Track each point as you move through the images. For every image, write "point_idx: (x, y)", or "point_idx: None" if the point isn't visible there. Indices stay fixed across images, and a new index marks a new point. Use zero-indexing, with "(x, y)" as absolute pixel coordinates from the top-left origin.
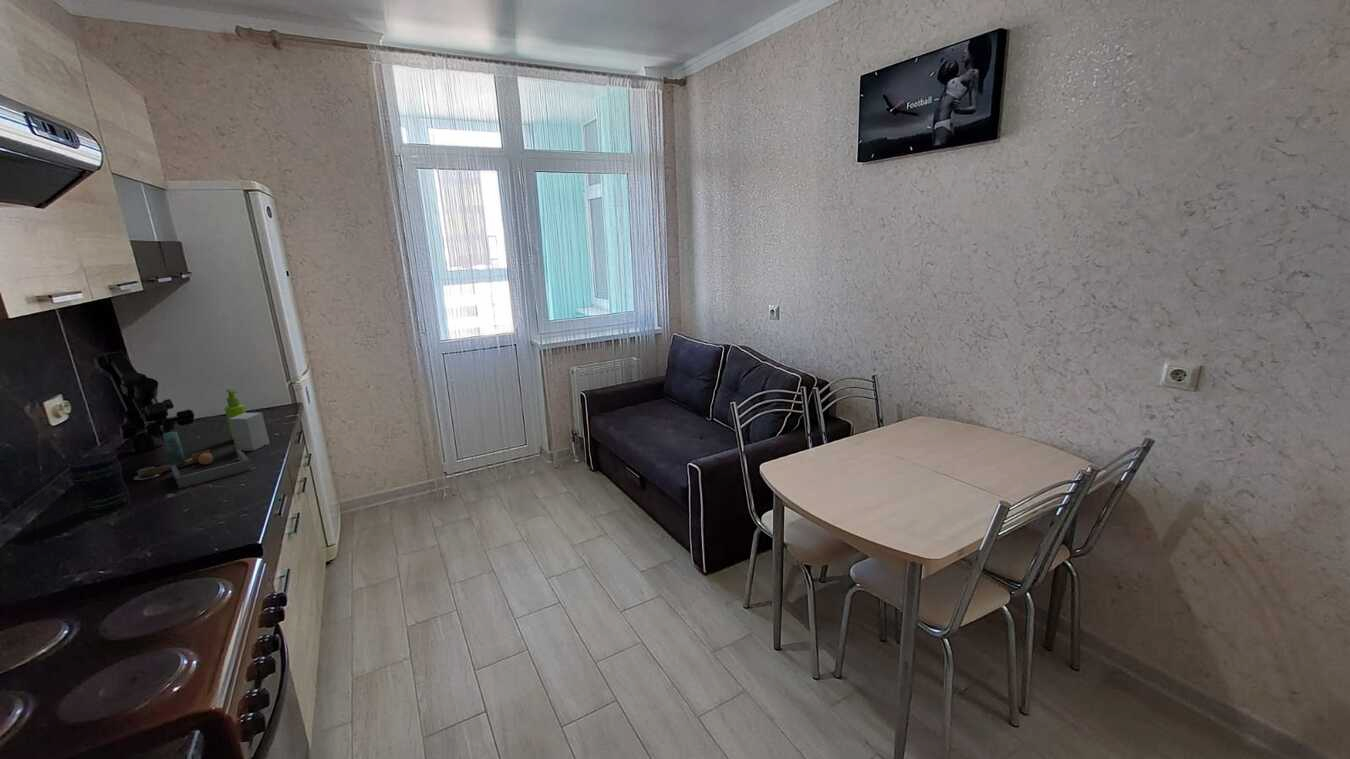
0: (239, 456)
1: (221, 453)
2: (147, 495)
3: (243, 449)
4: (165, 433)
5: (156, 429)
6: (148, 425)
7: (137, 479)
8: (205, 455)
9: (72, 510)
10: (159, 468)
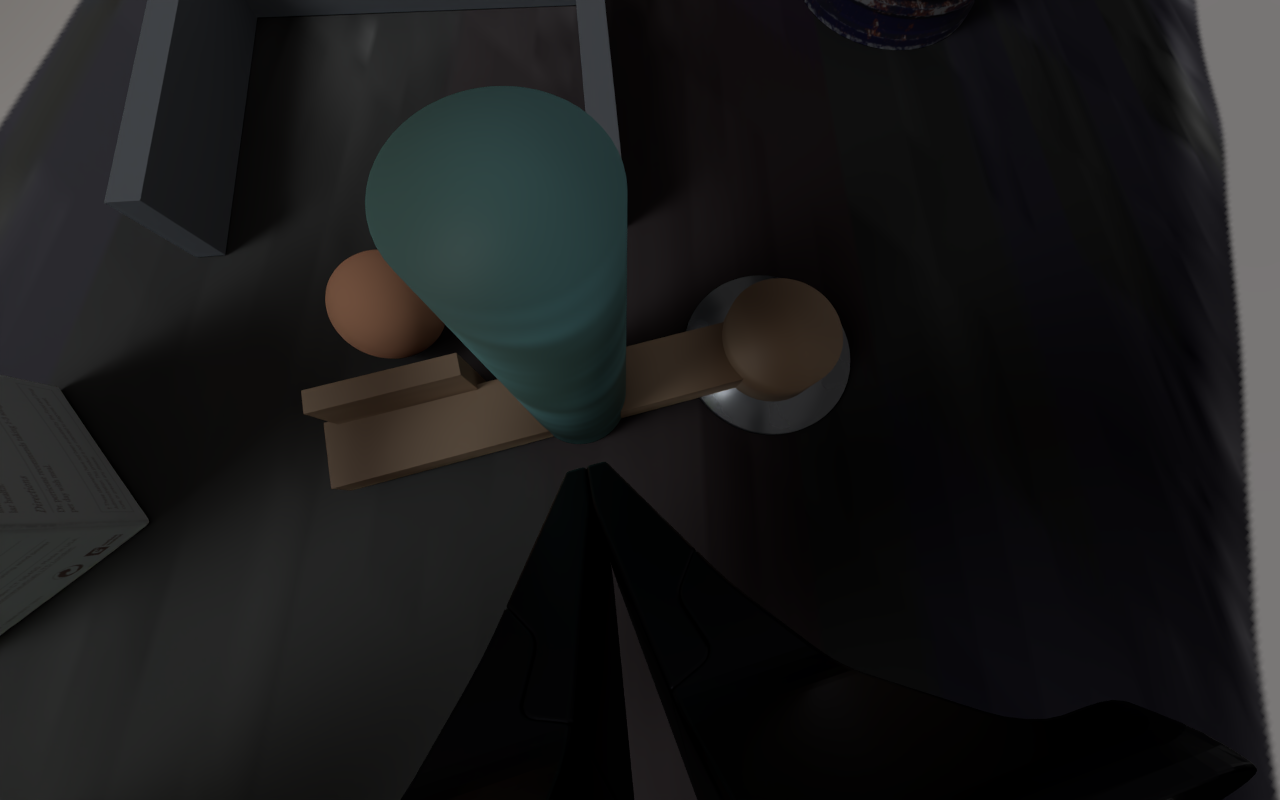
0: (186, 121)
1: (265, 551)
2: (735, 7)
3: (94, 458)
4: (577, 249)
5: (783, 681)
6: (1184, 730)
7: None
8: (366, 253)
9: (1036, 56)
10: (701, 342)
